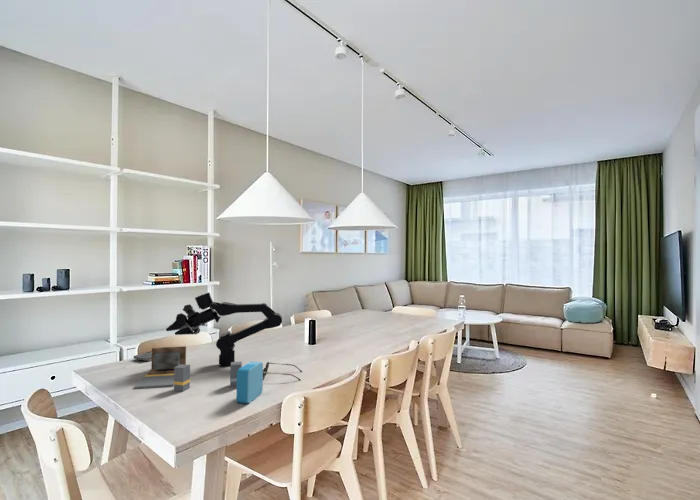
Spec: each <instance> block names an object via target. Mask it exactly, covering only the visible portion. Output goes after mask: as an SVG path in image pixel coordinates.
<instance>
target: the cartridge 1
mask: <svg viewBox="0 0 700 500" xmlns="http://www.w3.org/2000/svg"><path fill="white" fill-rule="evenodd" d="M173 374H174V386H173V391H175V392H183V393H184V392H185V391H187V390H189V389H190V388H191V364H186V365H185V364H181V365H178V366H176V367H174V373H173Z"/></svg>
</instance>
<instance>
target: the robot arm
mask: <svg viewBox="0 0 700 500" xmlns="http://www.w3.org/2000/svg"><path fill="white" fill-rule="evenodd" d="M194 299H195V302H196V305H197V306H198V309H201V310H202V311H201V312H199V311H196V310H195V309H194V308H193V306H192V305H191V304H186V305H184V306H183V308H182V311H183V312H184V313H186V315H185V314H184V313H182V312H181V313H177V314H176V317H175V318H176V319H175V321H173V323H171V324H170V325H169V326H168V327H166V328H165V330H166V332H172V331H175V332H174V335H175V336H181V335H182V336H183V335H198V334H200V332H201V328H200V327H201V326H202V327H204V326H206V324H207V323H209V322H212V321H213V320H214V321H215V323H217V324H218V322H219V321H220V320H221V318H222V317H224V316H225V317H226V316H229V315H234V314H238V313H262V315H264V316H265V317H266V318H264V319H263V320H261V321H260V322H257V323H255V324H252V325H250V326H248V327H245V328H243V329H241V330H239V331H238V330H237V331H235V332H231V330H229V331H227V332H225V333H221V335H220V337H219V338H218V339H217V341H216V342H215V345H216V348H217V349H218V350H219V351H220V353H219V355H218V365H219V367H230V365H231V362H236V361H235V360H236V358H235V357H236V355H235V354H236V351H235V347H236V344H235V343H237V342H238V341H241V340H244V339H245V338H247V337H250V336H252V335H255V334H256V333H259V332H262V331H265V330H267V329H273V328H276V327H280V326H281V324H282V322H283V317H282V315H281V314H280V313H279V312H276V311H274V309H272V308H271V307H269V306H268V304H267V303H266V302H263V303H243V304H242V303H239V304H237V303H233V302H226V301H223V302H216V301H214V300H213V299H212V296H211V293H210V292H206V293H204V294H201V295H197V296H196V297H194ZM205 309H206V310H205Z"/></svg>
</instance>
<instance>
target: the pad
mask: <svg viewBox="0 0 700 500" xmlns="http://www.w3.org/2000/svg"><path fill="white" fill-rule="evenodd" d="M169 387H174V373H165V374H145V375H144V376H143V377H142V378H141V379H140V380H139V381H138V382H137V384H135V385H134V387H133V389H134V390H138V389H151V388H152V389H153V388H154V389H155V388H169Z"/></svg>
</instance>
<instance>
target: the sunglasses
mask: <svg viewBox="0 0 700 500" xmlns="http://www.w3.org/2000/svg"><path fill="white" fill-rule="evenodd" d="M270 365H281V366H282V365H284V366H291V367H292V366H294V367H295V368H297V370H299V372H300V373H303V370H301V369H300V368H299V367H297V365H295V364H289V363H278V362H277V363H275V362H269V361H268V362H266V364H265V367H263V381H264V380H265V377H266V375H268V374H273V375H285V376H292V377H294V378H295V379H297V380H298V381H301V379H300V378H299V377H297V376H296V375H294V374H292V373H291V374H290V373H280V372H277V373H276V372H268V370H269V366H270Z"/></svg>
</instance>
